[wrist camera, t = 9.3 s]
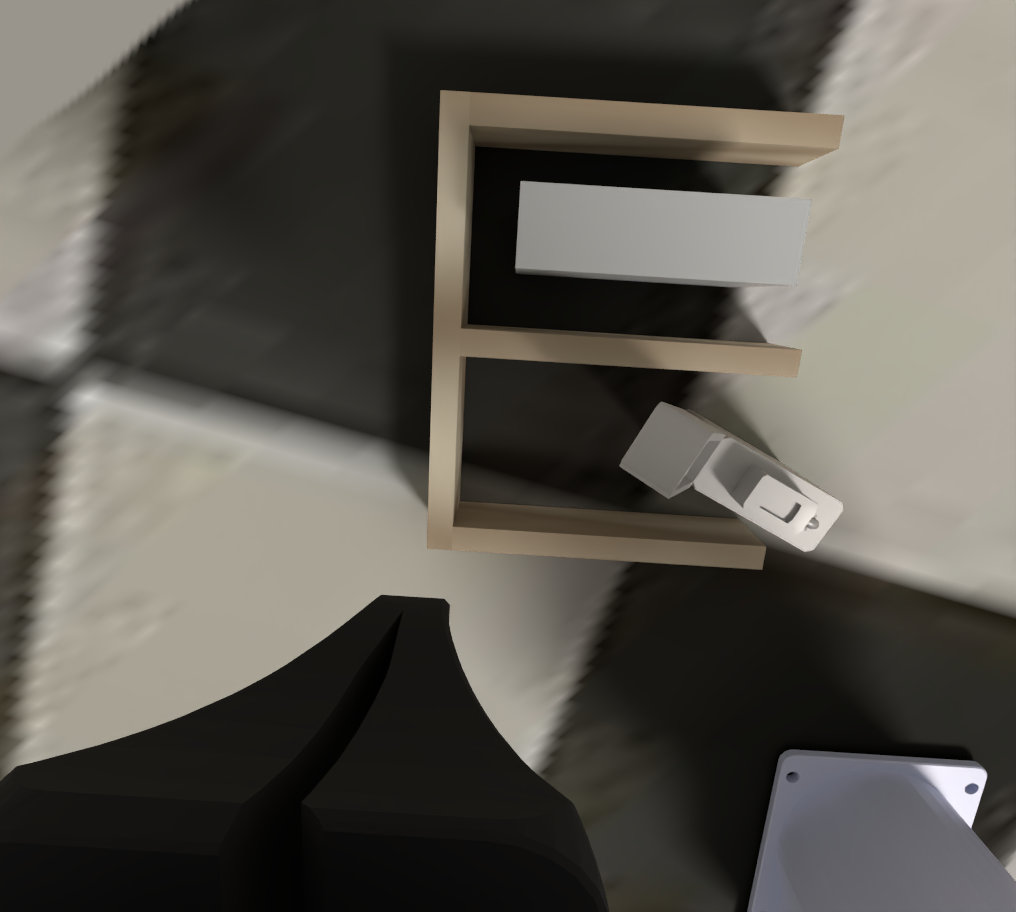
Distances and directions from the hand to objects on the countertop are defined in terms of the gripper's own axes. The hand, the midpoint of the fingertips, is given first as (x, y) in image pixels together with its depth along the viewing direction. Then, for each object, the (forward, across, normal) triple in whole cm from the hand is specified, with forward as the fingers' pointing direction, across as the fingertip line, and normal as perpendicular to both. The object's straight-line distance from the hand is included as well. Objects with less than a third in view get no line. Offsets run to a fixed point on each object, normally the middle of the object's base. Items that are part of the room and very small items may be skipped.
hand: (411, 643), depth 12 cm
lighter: (+11, -8, -2) cm, 13 cm away
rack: (+10, -5, -5) cm, 13 cm away
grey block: (+10, -5, -8) cm, 14 cm away
